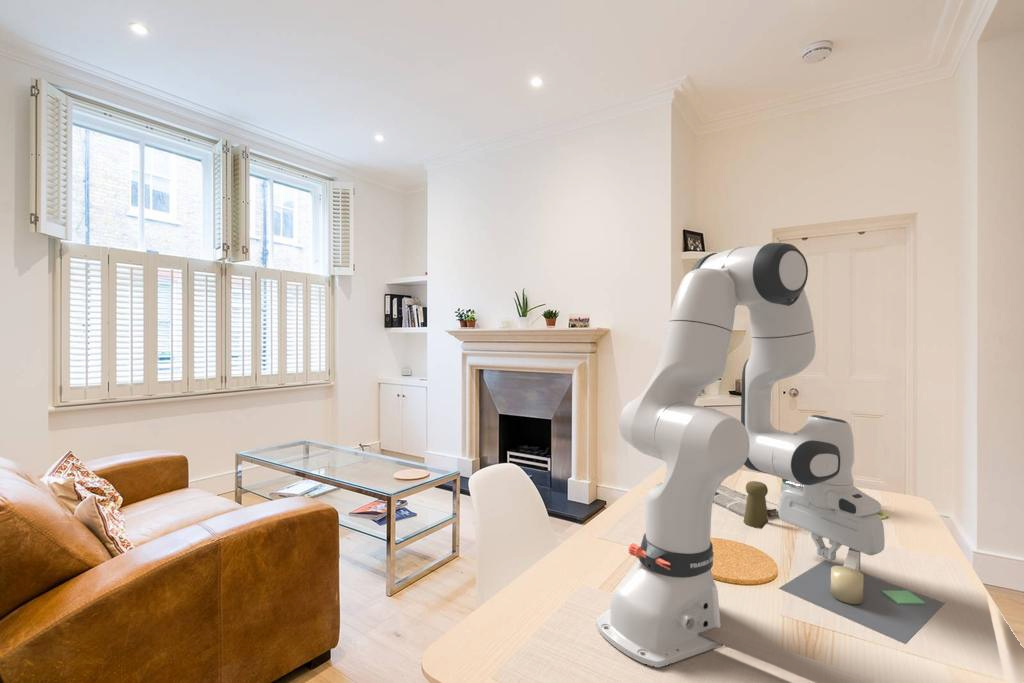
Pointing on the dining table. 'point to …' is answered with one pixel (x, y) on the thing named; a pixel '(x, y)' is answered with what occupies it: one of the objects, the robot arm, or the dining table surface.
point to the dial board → (868, 602)
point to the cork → (756, 505)
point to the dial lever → (848, 579)
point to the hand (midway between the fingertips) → (826, 557)
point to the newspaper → (737, 500)
